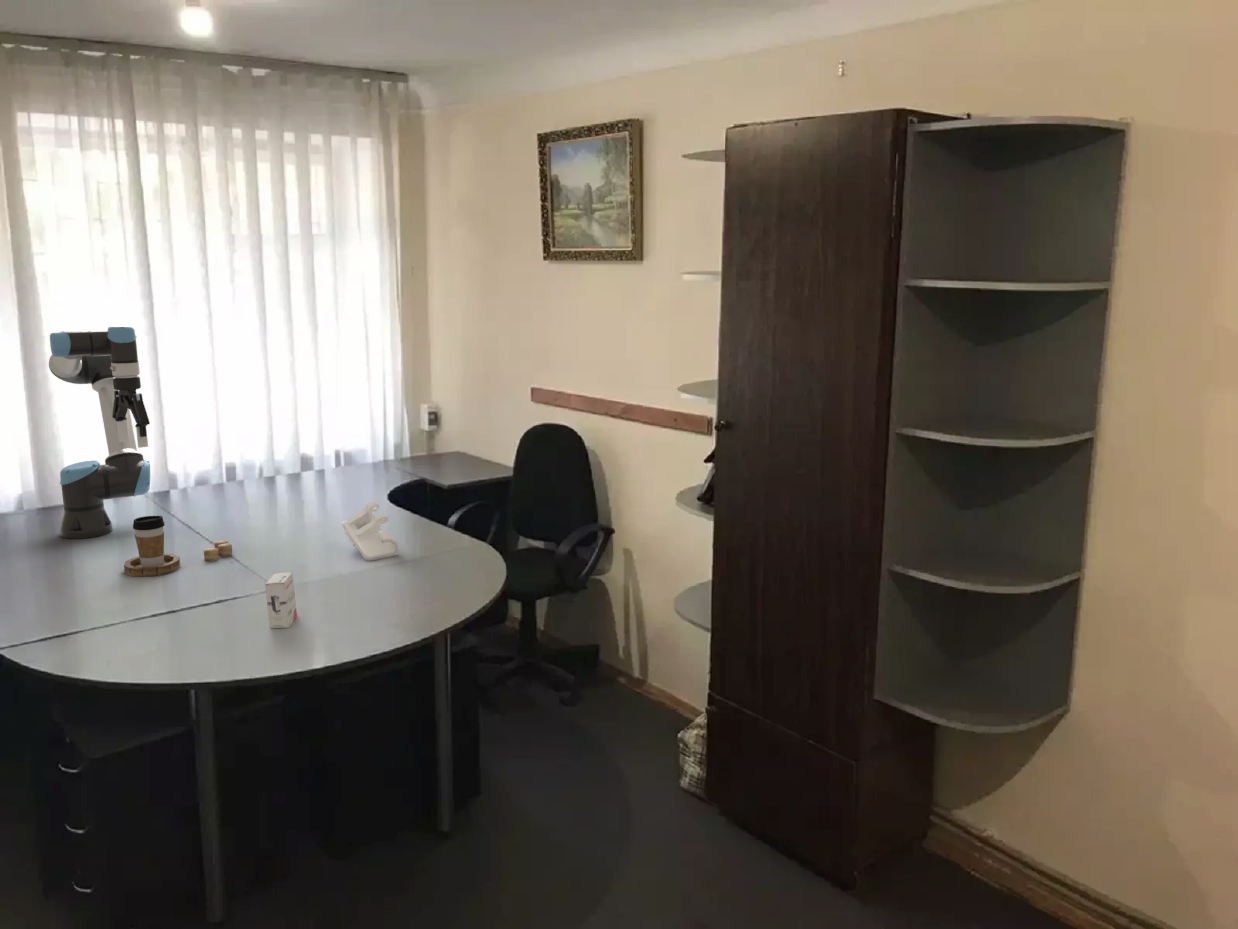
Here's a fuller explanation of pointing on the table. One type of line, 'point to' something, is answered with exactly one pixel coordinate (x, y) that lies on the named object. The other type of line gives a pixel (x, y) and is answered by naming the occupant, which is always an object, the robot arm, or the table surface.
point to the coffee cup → (150, 540)
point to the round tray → (135, 569)
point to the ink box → (281, 600)
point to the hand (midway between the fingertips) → (133, 444)
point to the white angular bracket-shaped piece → (370, 534)
